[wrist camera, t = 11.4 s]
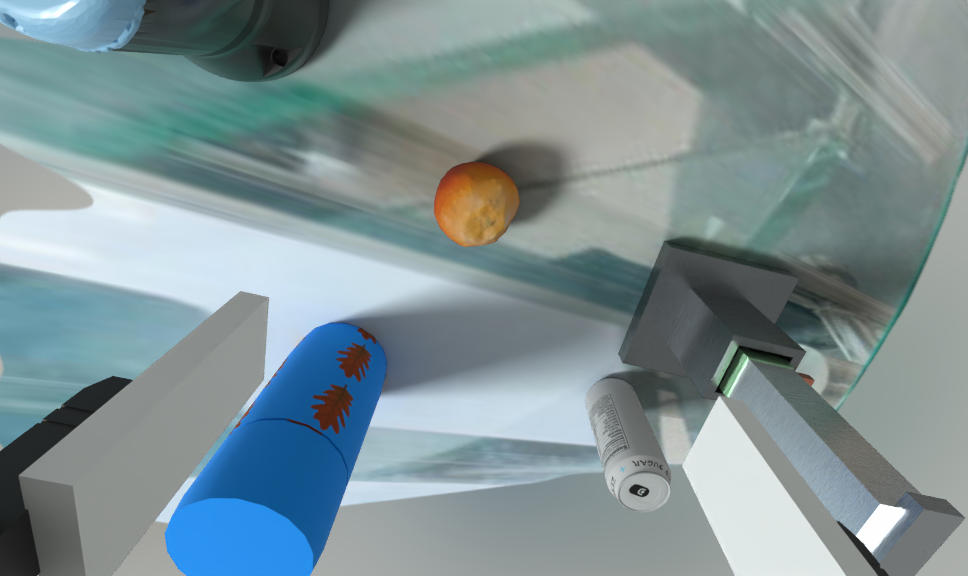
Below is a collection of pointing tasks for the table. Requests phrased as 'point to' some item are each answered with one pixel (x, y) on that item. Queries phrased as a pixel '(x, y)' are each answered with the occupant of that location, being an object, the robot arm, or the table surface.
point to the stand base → (708, 316)
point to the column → (841, 464)
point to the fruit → (475, 203)
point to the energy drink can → (627, 446)
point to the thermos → (283, 463)
